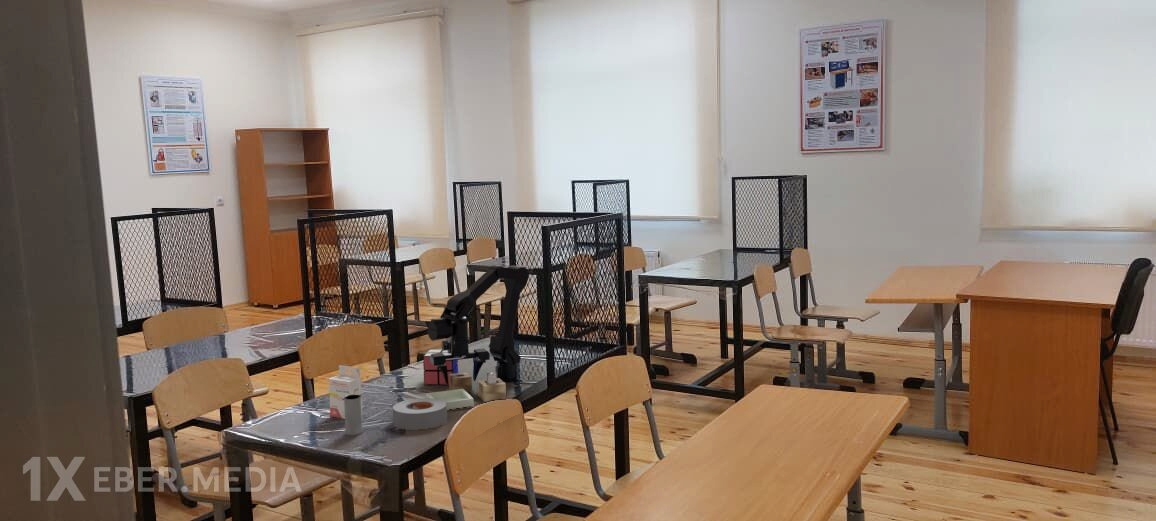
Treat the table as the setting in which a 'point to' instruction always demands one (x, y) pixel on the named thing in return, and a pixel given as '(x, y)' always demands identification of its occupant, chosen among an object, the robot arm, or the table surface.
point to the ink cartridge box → (343, 389)
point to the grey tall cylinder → (353, 414)
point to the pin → (491, 378)
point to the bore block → (491, 390)
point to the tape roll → (419, 414)
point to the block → (460, 381)
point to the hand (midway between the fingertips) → (460, 382)
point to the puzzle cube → (437, 369)
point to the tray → (453, 398)
